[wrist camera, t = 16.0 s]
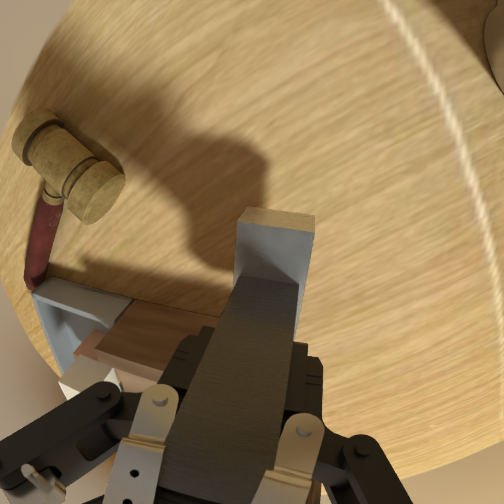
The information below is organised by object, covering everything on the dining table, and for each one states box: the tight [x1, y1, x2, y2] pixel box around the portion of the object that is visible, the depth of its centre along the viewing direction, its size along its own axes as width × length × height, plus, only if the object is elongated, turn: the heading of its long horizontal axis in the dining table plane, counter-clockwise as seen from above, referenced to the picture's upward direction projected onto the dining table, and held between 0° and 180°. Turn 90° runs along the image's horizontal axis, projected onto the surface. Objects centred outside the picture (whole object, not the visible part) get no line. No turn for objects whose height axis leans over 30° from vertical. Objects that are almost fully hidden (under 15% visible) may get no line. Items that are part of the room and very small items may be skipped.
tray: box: [31, 276, 133, 392], centre depth 29 cm, size 14×11×4 cm
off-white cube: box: [58, 354, 121, 400], centre depth 24 cm, size 4×4×4 cm
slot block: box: [94, 299, 220, 393], centre depth 25 cm, size 14×14×7 cm
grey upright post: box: [159, 206, 315, 504], centre depth 12 cm, size 9×4×14 cm, turn 176°
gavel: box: [12, 108, 125, 295], centre depth 24 cm, size 21×5×10 cm
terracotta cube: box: [73, 330, 121, 383], centre depth 28 cm, size 4×4×4 cm
